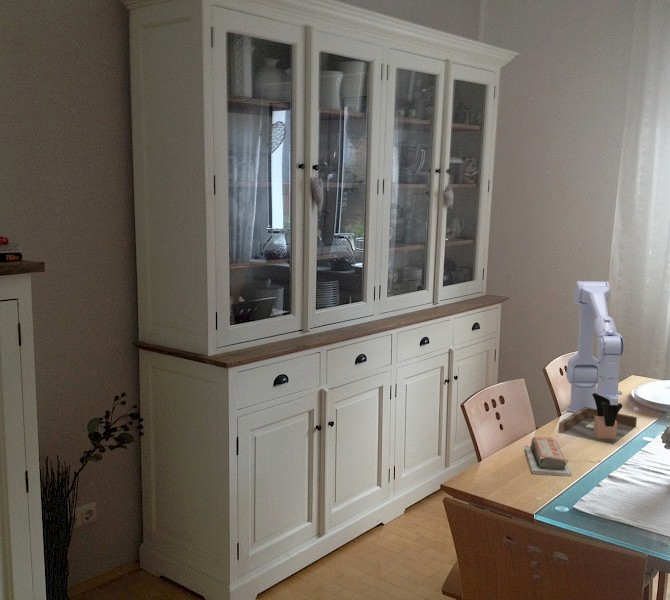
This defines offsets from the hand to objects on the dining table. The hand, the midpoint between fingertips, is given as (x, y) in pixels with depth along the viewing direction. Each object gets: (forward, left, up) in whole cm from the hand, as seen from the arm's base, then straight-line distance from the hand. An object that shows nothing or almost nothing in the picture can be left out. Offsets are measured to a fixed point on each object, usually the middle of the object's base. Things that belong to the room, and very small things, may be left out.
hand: (605, 421), depth 213 cm
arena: (-4, -4, -5) cm, 7 cm away
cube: (0, 0, -4) cm, 4 cm away
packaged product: (+28, -5, -6) cm, 29 cm away
